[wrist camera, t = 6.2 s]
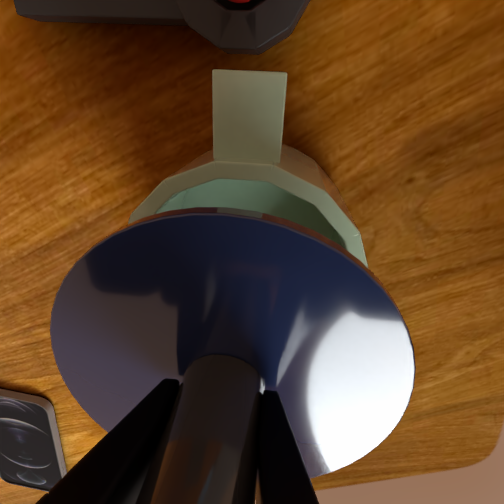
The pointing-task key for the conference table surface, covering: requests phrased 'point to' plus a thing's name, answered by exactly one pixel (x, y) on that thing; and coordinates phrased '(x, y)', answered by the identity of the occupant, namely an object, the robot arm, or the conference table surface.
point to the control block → (184, 17)
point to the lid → (232, 345)
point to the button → (239, 1)
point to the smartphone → (29, 442)
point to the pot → (256, 165)
